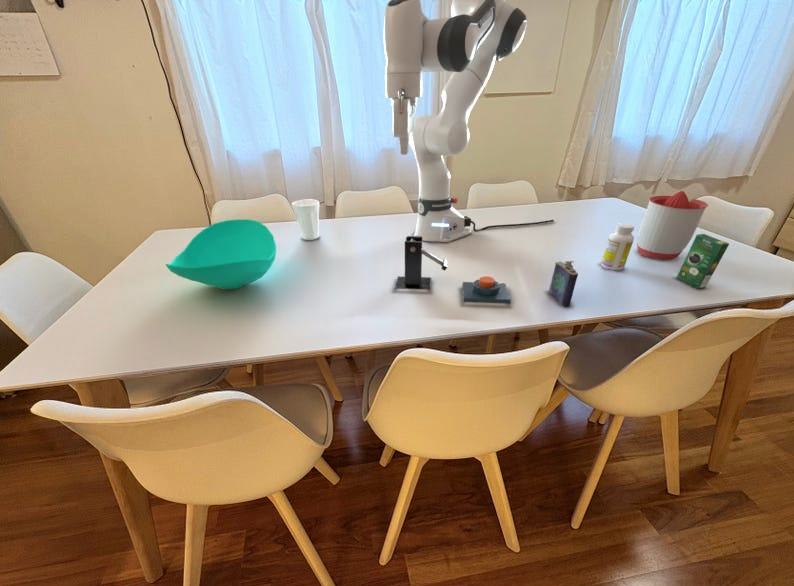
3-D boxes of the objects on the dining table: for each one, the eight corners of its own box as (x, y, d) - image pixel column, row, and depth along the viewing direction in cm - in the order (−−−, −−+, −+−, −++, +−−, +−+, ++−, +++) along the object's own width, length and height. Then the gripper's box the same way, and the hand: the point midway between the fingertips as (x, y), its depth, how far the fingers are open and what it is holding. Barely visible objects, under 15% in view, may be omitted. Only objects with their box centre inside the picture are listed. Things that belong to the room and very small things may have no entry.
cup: (301, 244, 139) (295, 207, 131) (294, 236, 146) (288, 201, 138) (327, 239, 143) (322, 203, 135) (319, 232, 150) (314, 198, 142)
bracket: (430, 281, 111) (432, 234, 103) (429, 293, 105) (431, 244, 97) (397, 280, 112) (396, 233, 104) (394, 291, 106) (393, 243, 97)
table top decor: (207, 261, 126) (194, 221, 119) (290, 257, 128) (282, 217, 121) (158, 319, 95) (135, 270, 87) (269, 313, 97) (257, 264, 89)
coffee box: (707, 289, 105) (731, 242, 97) (698, 290, 104) (722, 243, 96) (683, 277, 111) (704, 233, 103) (675, 278, 110) (695, 234, 103)
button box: (504, 290, 106) (506, 277, 103) (509, 307, 98) (511, 293, 95) (461, 289, 107) (463, 275, 104) (463, 305, 99) (464, 291, 96)
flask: (546, 291, 104) (555, 254, 98) (556, 291, 105) (566, 254, 98) (562, 307, 97) (573, 268, 91) (573, 306, 97) (584, 267, 91)
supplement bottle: (622, 264, 120) (636, 223, 112) (624, 272, 115) (640, 229, 107) (599, 261, 122) (612, 221, 114) (601, 269, 117) (614, 227, 109)
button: (493, 282, 101) (493, 276, 100) (494, 289, 98) (495, 282, 97) (478, 282, 102) (478, 276, 101) (479, 288, 98) (479, 282, 97)
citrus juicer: (689, 252, 127) (718, 189, 116) (677, 266, 117) (707, 199, 106) (640, 242, 136) (662, 182, 124) (624, 255, 126) (646, 191, 114)
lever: (443, 265, 106) (448, 258, 105) (443, 272, 102) (448, 265, 101) (407, 243, 104) (412, 236, 102) (406, 249, 100) (410, 242, 98)
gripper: (414, 89, 81) (413, 160, 89) (419, 88, 98) (418, 148, 106) (385, 89, 82) (387, 160, 90) (395, 88, 98) (396, 148, 106)
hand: (404, 153), depth 98 cm, fingers closed
